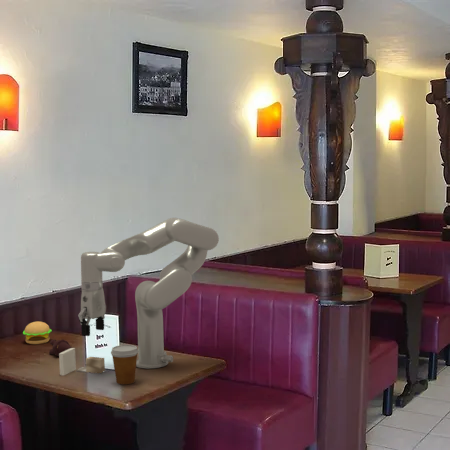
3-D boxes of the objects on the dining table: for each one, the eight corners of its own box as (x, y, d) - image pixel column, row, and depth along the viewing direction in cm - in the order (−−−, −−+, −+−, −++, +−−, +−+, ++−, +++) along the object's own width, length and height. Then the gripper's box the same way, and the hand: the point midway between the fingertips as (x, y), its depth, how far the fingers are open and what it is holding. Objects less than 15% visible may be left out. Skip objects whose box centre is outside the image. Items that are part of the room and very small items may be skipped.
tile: (75, 369, 264) (75, 348, 264) (63, 375, 257) (62, 353, 256) (71, 369, 265) (71, 347, 264) (59, 375, 258) (58, 353, 257)
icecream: (82, 341, 281) (59, 338, 291) (66, 340, 275) (43, 337, 285) (80, 358, 280) (57, 356, 289) (64, 358, 274) (41, 355, 284)
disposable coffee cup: (134, 386, 243) (133, 352, 241) (108, 385, 244) (106, 351, 243) (142, 378, 252) (141, 344, 251) (117, 377, 254) (115, 344, 252)
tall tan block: (105, 370, 262) (105, 357, 261) (99, 374, 258) (99, 360, 258) (82, 368, 265) (81, 355, 265) (76, 371, 261) (75, 358, 261)
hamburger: (51, 344, 303) (51, 324, 302) (22, 346, 300) (21, 326, 299) (52, 337, 314) (51, 318, 313) (23, 339, 311) (22, 320, 311)
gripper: (88, 290, 249) (89, 338, 250) (113, 282, 265) (114, 328, 266) (69, 289, 251) (71, 337, 253) (95, 281, 267) (96, 326, 269)
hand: (93, 332), depth 259 cm, fingers open, 9 cm apart
